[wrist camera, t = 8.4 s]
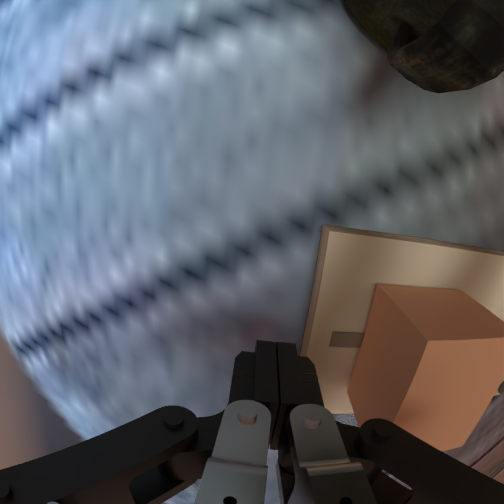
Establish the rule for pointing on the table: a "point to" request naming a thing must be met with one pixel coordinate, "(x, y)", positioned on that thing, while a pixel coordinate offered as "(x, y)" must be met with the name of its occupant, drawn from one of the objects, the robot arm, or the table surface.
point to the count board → (364, 286)
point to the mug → (438, 39)
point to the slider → (428, 363)
